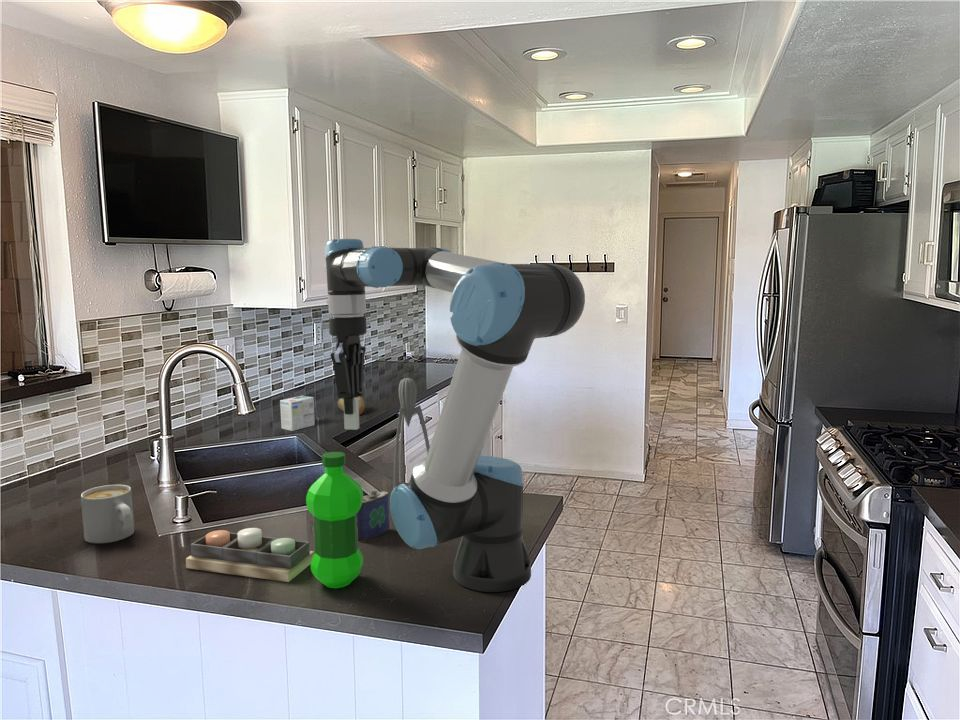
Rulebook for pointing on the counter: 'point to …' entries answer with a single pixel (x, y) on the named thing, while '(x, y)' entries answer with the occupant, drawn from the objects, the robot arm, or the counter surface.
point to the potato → (360, 403)
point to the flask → (373, 516)
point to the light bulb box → (297, 413)
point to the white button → (249, 538)
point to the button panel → (250, 559)
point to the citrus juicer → (407, 419)
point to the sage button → (283, 546)
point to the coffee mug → (107, 513)
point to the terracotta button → (218, 538)
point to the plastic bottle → (335, 523)
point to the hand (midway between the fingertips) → (351, 428)
